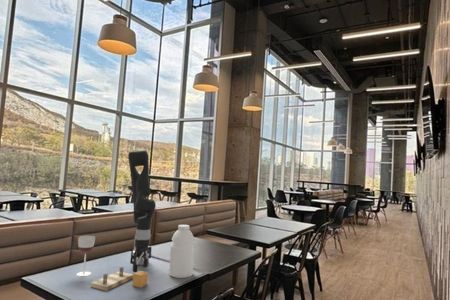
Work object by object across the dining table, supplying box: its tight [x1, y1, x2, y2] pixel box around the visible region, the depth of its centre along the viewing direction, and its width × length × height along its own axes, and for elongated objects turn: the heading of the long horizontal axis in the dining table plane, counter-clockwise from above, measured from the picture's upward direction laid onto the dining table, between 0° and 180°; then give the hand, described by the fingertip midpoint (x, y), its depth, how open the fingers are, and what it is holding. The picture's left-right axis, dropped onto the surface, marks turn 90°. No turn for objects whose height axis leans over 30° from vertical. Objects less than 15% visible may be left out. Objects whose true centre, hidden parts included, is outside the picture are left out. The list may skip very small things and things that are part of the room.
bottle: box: [168, 224, 196, 279], centre depth 179 cm, size 14×14×28 cm
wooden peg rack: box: [90, 266, 134, 292], centre depth 160 cm, size 20×10×6 cm, turn 159°
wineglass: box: [76, 235, 96, 277], centre depth 171 cm, size 8×9×20 cm
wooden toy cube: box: [132, 270, 149, 288], centre depth 159 cm, size 5×5×6 cm
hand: (140, 269), depth 159 cm, fingers open, 8 cm apart
